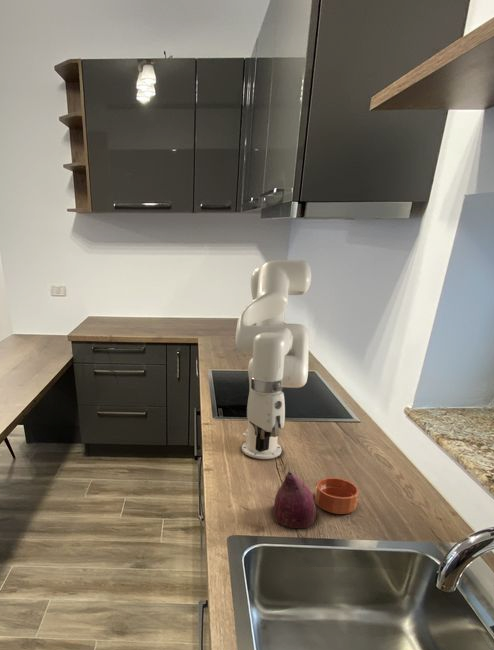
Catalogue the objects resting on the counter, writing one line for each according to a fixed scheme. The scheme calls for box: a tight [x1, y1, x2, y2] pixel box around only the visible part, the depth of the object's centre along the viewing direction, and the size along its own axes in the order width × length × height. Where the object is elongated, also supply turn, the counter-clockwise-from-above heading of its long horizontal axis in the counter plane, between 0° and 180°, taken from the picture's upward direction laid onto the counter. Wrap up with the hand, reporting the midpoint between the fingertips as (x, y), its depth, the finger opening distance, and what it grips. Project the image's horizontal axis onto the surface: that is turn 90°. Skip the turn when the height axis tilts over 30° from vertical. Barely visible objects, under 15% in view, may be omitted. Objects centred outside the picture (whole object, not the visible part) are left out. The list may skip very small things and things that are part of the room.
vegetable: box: [273, 470, 317, 529], centre depth 107 cm, size 10×10×15 cm
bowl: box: [314, 476, 360, 515], centre depth 114 cm, size 10×10×5 cm
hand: (261, 449), depth 117 cm, fingers closed
